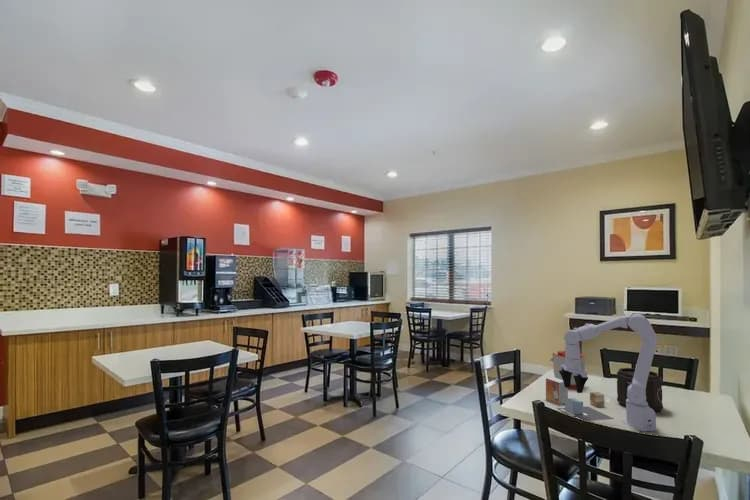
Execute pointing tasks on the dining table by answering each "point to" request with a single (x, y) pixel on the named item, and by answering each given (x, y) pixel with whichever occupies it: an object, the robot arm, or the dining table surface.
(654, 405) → the wooden barrel
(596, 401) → the maple block
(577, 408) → the blue cube
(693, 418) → the dining table surface
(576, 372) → the robot arm
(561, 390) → the small box
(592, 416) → the letter mat
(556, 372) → the citrus juicer
